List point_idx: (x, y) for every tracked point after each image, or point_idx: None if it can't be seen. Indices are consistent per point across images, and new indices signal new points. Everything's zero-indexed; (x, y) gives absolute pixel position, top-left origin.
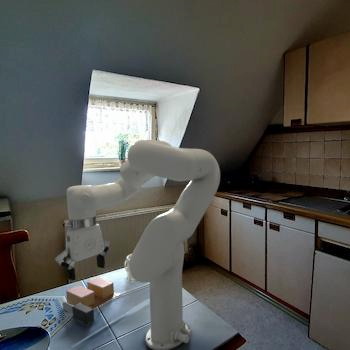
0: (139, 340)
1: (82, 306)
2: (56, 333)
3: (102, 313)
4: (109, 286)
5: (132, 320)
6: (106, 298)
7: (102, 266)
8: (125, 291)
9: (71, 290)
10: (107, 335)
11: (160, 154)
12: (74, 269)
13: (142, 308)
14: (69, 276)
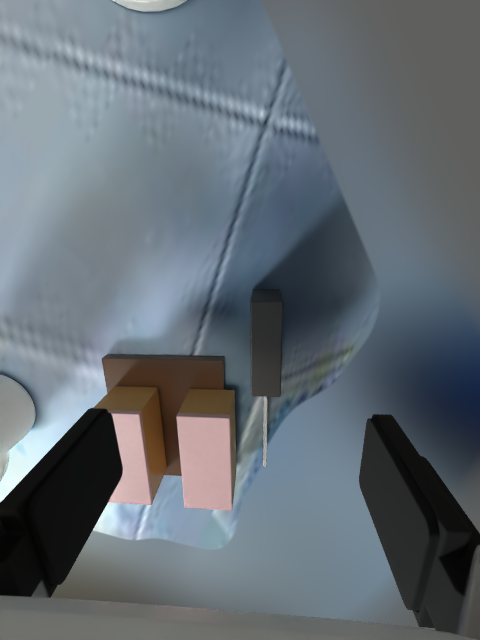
0: (230, 7)
1: (261, 360)
2: (343, 349)
3: (204, 317)
4: (112, 407)
5: (168, 167)
6: (149, 378)
7: (101, 419)
8: (79, 369)
9: (220, 495)
10: (272, 173)
11: None
12: (425, 508)
13: (99, 204)
14: (429, 467)
